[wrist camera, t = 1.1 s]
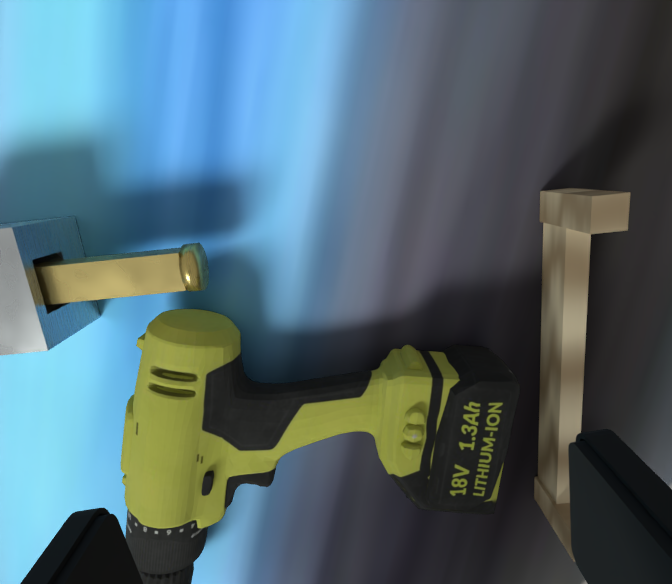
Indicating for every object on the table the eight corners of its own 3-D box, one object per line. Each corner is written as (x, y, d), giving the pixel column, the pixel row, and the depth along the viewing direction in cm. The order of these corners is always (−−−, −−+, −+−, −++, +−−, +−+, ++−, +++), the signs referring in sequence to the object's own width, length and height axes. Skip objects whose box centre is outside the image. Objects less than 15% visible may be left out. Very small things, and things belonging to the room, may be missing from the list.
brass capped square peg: (211, 283, 28) (198, 295, 25) (58, 299, 28) (29, 312, 26) (203, 239, 27) (189, 247, 25) (46, 255, 28) (15, 265, 25)
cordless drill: (425, 612, 38) (132, 574, 37) (499, 342, 33) (156, 286, 31) (446, 705, 31) (86, 662, 30) (544, 384, 26) (107, 314, 25)
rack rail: (559, 495, 36) (604, 559, 30) (534, 497, 36) (573, 561, 30) (570, 188, 29) (630, 192, 23) (540, 191, 29) (592, 196, 23)
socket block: (100, 316, 31) (48, 350, 25) (1, 326, 31) (-74, 362, 25) (74, 216, 29) (11, 227, 23) (-31, 227, 29) (-119, 241, 24)
